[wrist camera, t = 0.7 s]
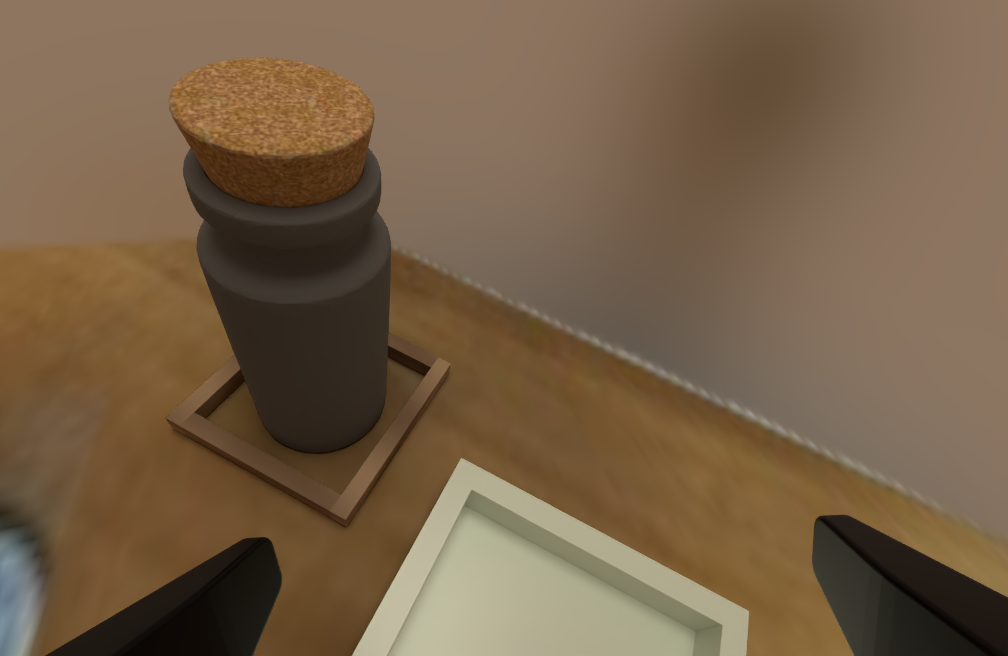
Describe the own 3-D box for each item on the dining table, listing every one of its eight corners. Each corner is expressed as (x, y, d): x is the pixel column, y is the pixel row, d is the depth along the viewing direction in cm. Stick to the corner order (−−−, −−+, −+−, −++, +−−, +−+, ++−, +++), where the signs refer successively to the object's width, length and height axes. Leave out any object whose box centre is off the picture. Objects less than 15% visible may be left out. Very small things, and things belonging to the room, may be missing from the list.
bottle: (271, 348, 24) (181, 30, 13) (388, 352, 26) (399, 67, 14) (246, 456, 21) (91, 148, 9) (383, 453, 22) (392, 183, 11)
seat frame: (346, 527, 20) (345, 520, 19) (172, 428, 21) (165, 417, 20) (448, 374, 26) (450, 363, 25) (308, 302, 27) (306, 290, 26)
